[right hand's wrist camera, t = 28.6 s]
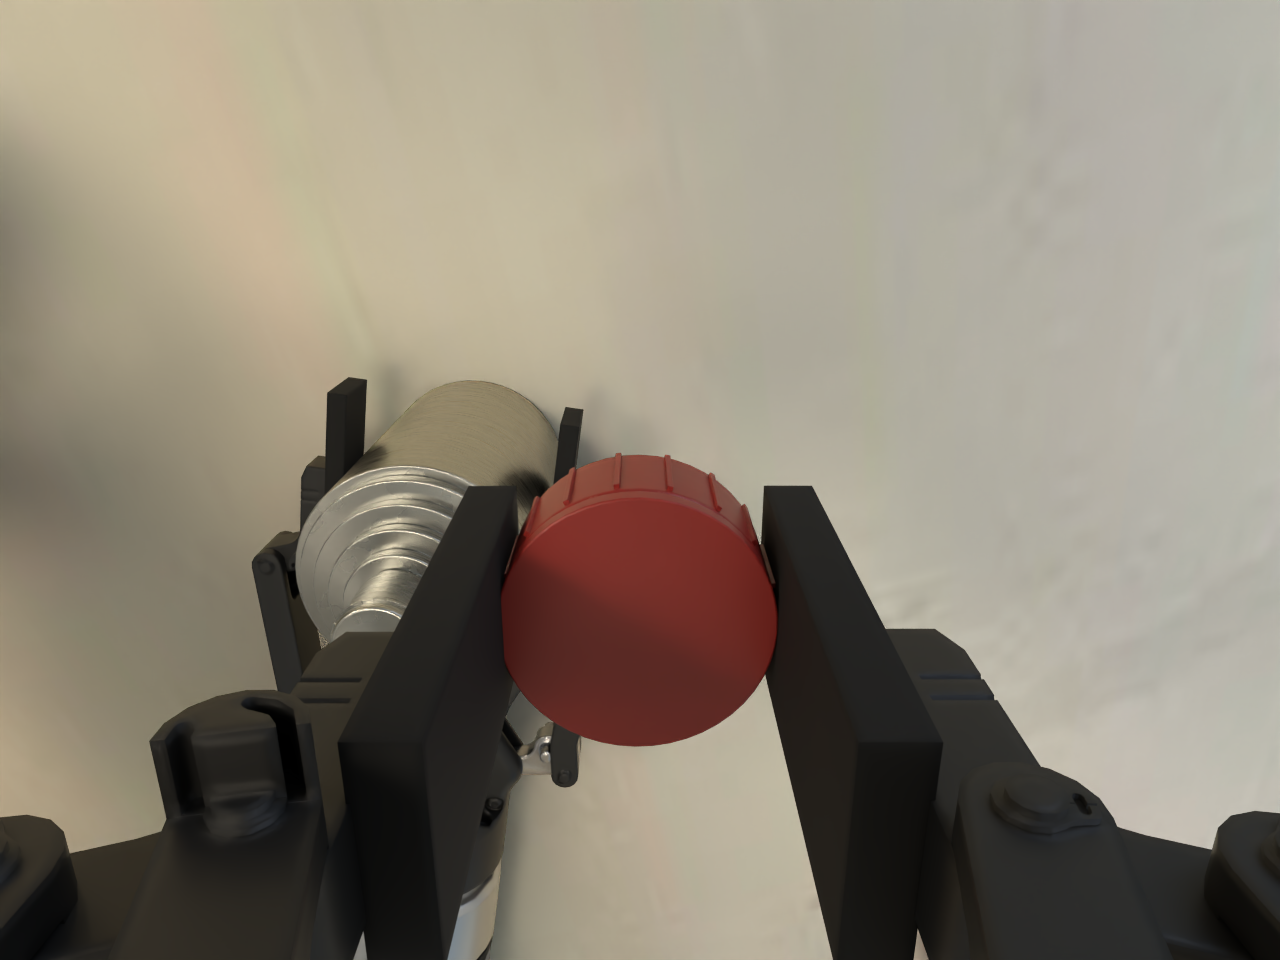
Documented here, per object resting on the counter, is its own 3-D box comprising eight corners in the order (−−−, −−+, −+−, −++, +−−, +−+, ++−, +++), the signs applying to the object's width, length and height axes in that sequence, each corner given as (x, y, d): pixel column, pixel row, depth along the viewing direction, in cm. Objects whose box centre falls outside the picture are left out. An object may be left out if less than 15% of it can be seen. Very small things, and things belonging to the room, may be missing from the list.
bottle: (442, 568, 45) (327, 802, 28) (358, 423, 43) (179, 586, 26) (590, 504, 44) (562, 708, 27) (513, 351, 42) (431, 473, 25)
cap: (698, 712, 15) (706, 786, 14) (475, 627, 15) (452, 694, 13) (808, 510, 14) (833, 562, 12) (566, 410, 14) (555, 449, 12)
